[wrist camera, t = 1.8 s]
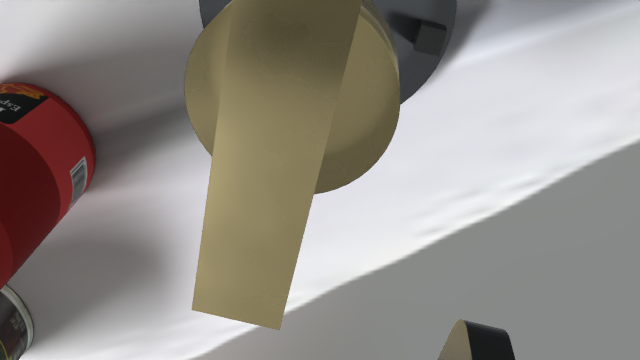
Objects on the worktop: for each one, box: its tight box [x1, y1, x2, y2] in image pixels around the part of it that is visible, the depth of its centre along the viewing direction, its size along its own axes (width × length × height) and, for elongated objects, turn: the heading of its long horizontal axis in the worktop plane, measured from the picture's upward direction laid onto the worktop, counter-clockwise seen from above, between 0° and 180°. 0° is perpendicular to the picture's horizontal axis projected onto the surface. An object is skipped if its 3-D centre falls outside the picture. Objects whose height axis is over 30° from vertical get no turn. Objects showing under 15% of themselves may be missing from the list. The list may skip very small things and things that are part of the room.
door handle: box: [184, 0, 400, 330], centre depth 16 cm, size 10×6×8 cm, turn 168°
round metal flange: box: [199, 0, 456, 104], centre depth 24 cm, size 12×12×10 cm
